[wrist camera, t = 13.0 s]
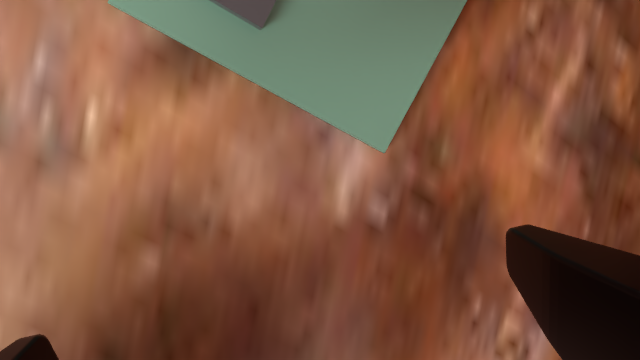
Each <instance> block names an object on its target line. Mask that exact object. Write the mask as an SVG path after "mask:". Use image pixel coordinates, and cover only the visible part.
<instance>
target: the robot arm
mask: <svg viewBox="0 0 640 360" xmlns="http://www.w3.org/2000/svg"><path fill="white" fill-rule="evenodd" d="M506 261H507V269H508V272H509V275H510V277H511V279H512V280H513V282H514V284H515V285H516V287H517V289H518V291H519V292H520V294H521V296H522V297H523V299H524V301H525V302H526V304H527V306H528V307H529V309H530V311H531V312H532V314H533V316H534V318H535V319H536V321H537V323H538V324H539V326H540V328H541V329H542V331H543V333H544V334H545V336H546V337H547V339H548V340H549V342H550V343H551V345H552V346H553V348H554V349H555V350H556V352H557V353H558V354H559V356H560V357H561V358H562V360H640V256H639V255H636V254H632V253H628V252H625V251H621V250H618V249H614V248H611V247H607V246H604V245H600V244H597V243H593V242H589V241H586V240H582V239H579V238H575V237H572V236H568V235H565V234H561V233H558V232H554V231H550V230H547V229H543V228H540V227H536V226H533V225H522V226H518V227H513V228H510V229H509V230H508V231H507V233H506ZM0 360H59V359H58V357H57V355H56V353H55V351H54V349H53V348H52V346H51V344H50V342H49V340H48V339H47V337H45V336H44V335H41V334H37V335H33V336H28V337H24V338H20V339H18V340H16V341H15V342H13V343H12V344H10V345H9V346H7V347H6V348H5V349H3V350H2V351H0Z"/></svg>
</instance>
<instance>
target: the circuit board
mask: <svg viewBox="0 0 640 360" xmlns="http://www.w3.org/2000/svg"><path fill="white" fill-rule="evenodd" d="M466 2H467V0H109V1H108V3H109V4H110V5H112V6H114V7H115V8H117V9H119V10H121V11H123V12H125V13H126V14H128V15H130V16H132V17H134V18H136V19H137V20H139V21H141V22H143V23H145V24H147V25H149V26H150V27H152V28H154V29H156V30H158V31H160V32H161V33H163V34H165V35H167V36H169V37H171V38H172V39H174V40H176V41H178V42H180V43H182V44H183V45H185V46H187V47H189V48H191V49H193V50H194V51H196V52H198V53H200V54H202V55H204V56H205V57H207V58H209V59H211V60H213V61H215V62H216V63H218V64H220V65H222V66H224V67H226V68H228V69H229V70H231V71H233V72H235V73H237V74H239V75H240V76H242V77H244V78H246V79H248V80H250V81H251V82H253V83H255V84H257V85H259V86H261V87H262V88H264V89H266V90H268V91H270V92H272V93H273V94H275V95H277V96H279V97H281V98H283V99H284V100H286V101H288V102H290V103H292V104H294V105H296V106H297V107H299V108H301V109H303V110H305V111H307V112H308V113H310V114H312V115H314V116H316V117H318V118H319V119H321V120H323V121H325V122H327V123H329V124H330V125H332V126H334V127H336V128H338V129H340V130H341V131H343V132H345V133H347V134H349V135H351V136H352V137H354V138H356V139H358V140H360V141H362V142H364V143H365V144H367V145H369V146H371V147H373V148H375V149H376V150H378V151H380V152H382V153H385V151H386V150H387V148H388V146H389V144H390V142H391V140H392V139H393V137H394V135H395V133H396V131H397V129H398V127H399V126H400V124H401V122H402V120H403V118H404V116H405V114H406V113H407V111H408V109H409V107H410V105H411V103H412V102H413V100H414V98H415V96H416V94H417V92H418V90H419V89H420V87H421V85H422V83H423V81H424V79H425V77H426V76H427V74H428V72H429V70H430V68H431V66H432V65H433V63H434V61H435V59H436V57H437V55H438V53H439V52H440V50H441V48H442V46H443V44H444V42H445V40H446V39H447V37H448V35H449V33H450V31H451V29H452V28H453V26H454V24H455V22H456V20H457V18H458V16H459V15H460V13H461V11H462V9H463V7H464V5H465V3H466Z"/></svg>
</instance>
